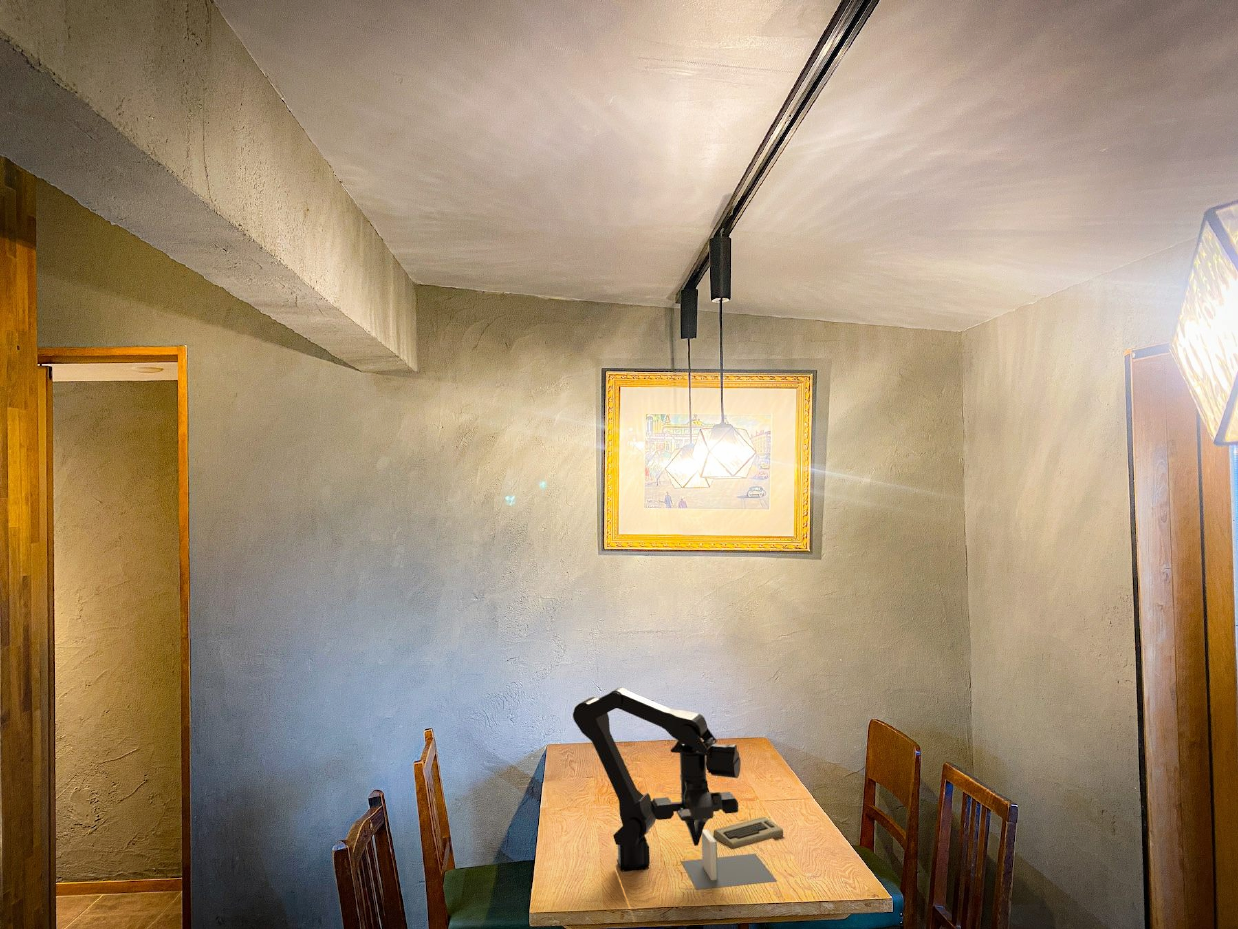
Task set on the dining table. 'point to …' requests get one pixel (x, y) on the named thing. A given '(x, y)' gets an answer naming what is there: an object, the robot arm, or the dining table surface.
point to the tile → (709, 854)
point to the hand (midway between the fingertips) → (695, 845)
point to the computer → (748, 832)
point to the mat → (729, 872)
